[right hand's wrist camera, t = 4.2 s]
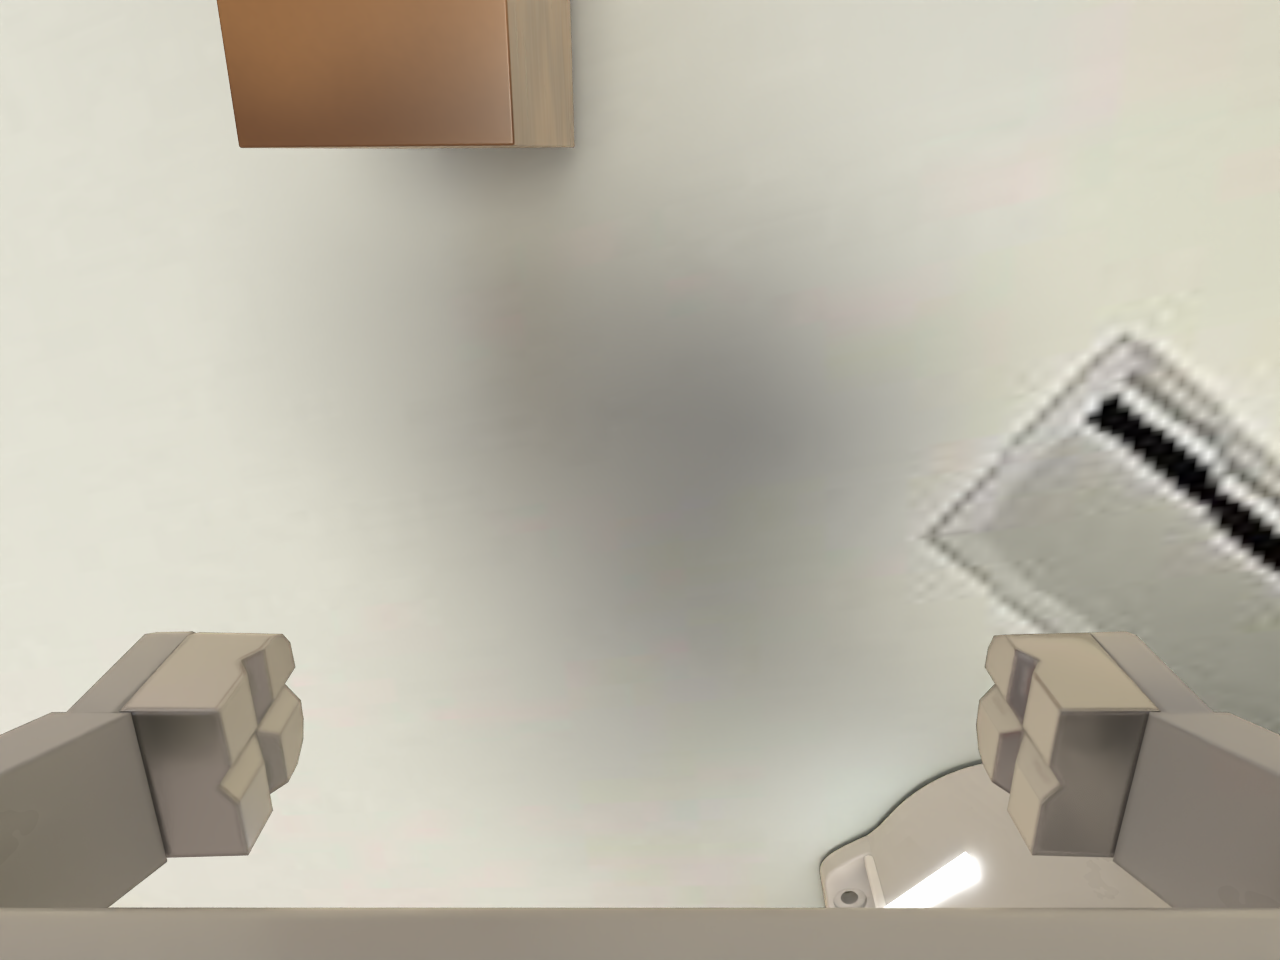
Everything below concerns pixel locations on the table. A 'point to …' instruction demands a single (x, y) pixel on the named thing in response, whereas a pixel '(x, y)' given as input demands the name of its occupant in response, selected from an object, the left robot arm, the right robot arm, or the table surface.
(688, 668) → the table surface
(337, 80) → the box
